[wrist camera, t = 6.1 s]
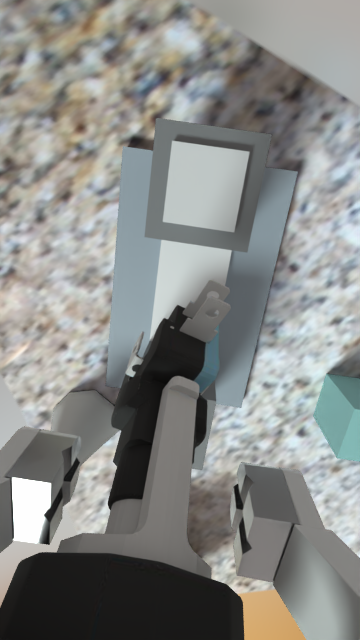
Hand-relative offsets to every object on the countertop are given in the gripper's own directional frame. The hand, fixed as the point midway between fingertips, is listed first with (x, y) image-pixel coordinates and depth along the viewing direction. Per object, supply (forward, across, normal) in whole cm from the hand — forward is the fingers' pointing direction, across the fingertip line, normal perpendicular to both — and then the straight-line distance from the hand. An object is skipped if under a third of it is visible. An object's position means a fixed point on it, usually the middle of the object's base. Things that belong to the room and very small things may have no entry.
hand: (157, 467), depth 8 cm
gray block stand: (+22, 0, 0) cm, 22 cm away
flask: (+22, +9, +16) cm, 29 cm away
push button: (+5, 0, -2) cm, 5 cm away
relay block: (+16, -17, +9) cm, 25 cm away
